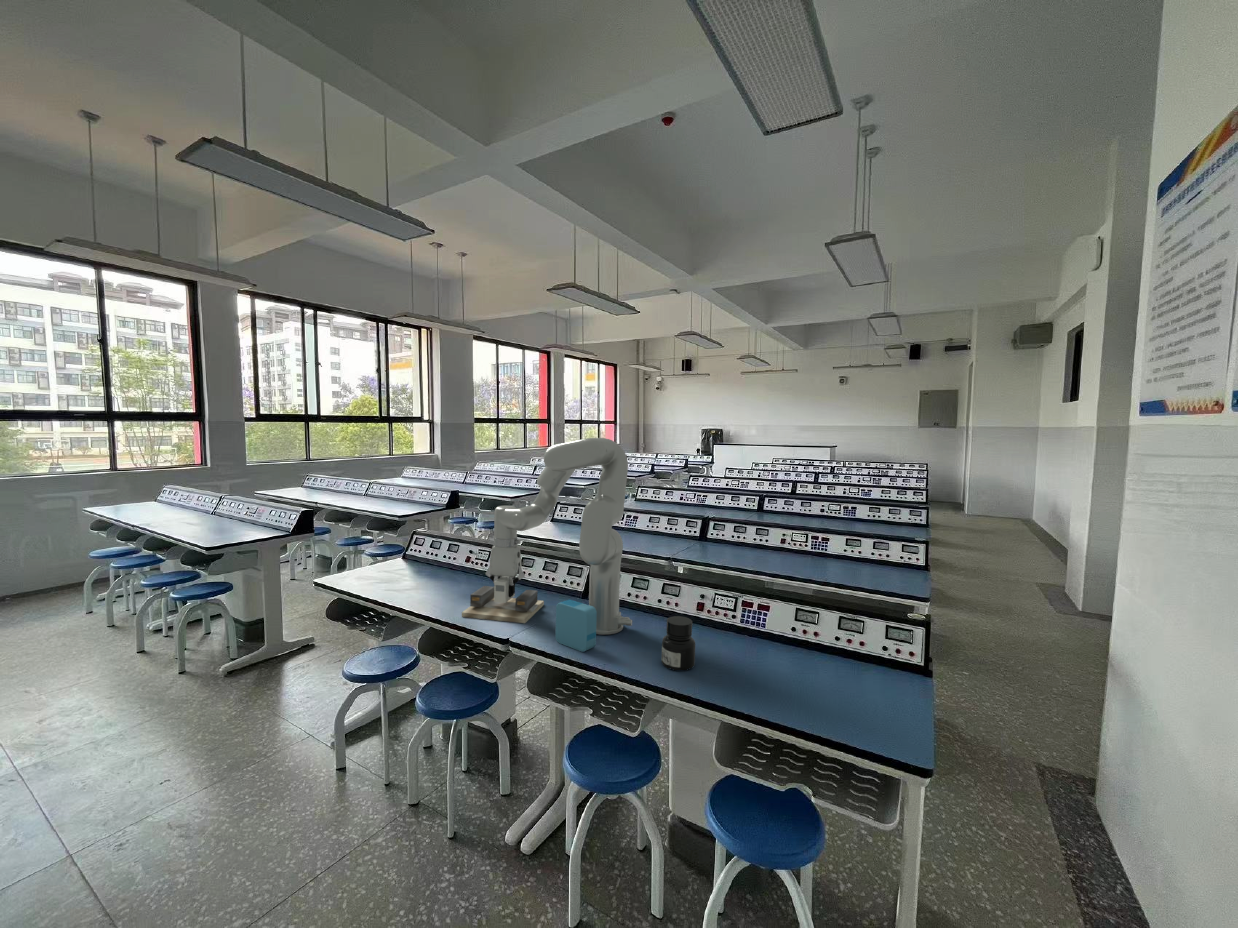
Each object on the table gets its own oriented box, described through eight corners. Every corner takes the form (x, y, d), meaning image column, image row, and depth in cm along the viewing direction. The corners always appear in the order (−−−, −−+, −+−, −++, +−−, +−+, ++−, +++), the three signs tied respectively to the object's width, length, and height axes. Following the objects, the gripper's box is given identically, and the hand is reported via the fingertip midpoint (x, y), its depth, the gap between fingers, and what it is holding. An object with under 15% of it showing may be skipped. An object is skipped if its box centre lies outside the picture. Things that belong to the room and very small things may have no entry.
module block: (514, 595, 176) (515, 575, 175) (505, 603, 168) (505, 582, 167) (503, 594, 176) (504, 574, 176) (493, 602, 168) (494, 581, 168)
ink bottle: (655, 658, 139) (656, 616, 138) (683, 654, 142) (685, 612, 141) (671, 674, 130) (672, 629, 129) (701, 670, 133) (703, 625, 132)
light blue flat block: (596, 648, 144) (597, 607, 143) (585, 653, 141) (586, 611, 140) (565, 637, 152) (566, 598, 151) (555, 641, 148) (555, 601, 147)
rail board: (543, 604, 179) (544, 587, 179) (525, 623, 162) (525, 603, 161) (485, 599, 183) (486, 582, 183) (461, 616, 166) (461, 597, 165)
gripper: (532, 541, 173) (531, 594, 174) (487, 538, 176) (486, 590, 177) (524, 546, 166) (523, 601, 167) (477, 543, 169) (476, 596, 170)
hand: (504, 594), depth 172 cm, fingers closed on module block, 3 cm apart
